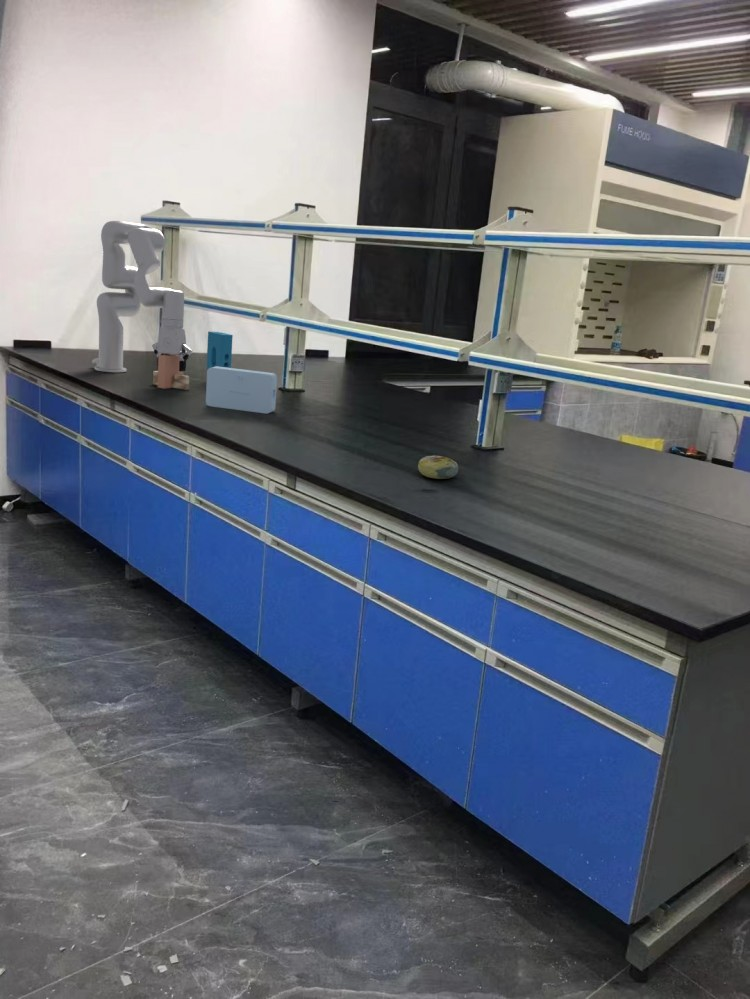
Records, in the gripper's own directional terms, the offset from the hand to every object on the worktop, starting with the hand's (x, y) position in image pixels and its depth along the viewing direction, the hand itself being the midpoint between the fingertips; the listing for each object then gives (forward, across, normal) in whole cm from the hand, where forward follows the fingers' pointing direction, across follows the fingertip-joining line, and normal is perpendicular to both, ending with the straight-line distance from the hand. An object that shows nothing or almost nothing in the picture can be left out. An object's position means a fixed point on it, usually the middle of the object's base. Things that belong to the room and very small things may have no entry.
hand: (171, 369), depth 323 cm
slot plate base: (+7, 0, 0) cm, 7 cm away
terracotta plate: (+7, 0, 0) cm, 7 cm away
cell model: (+7, +128, -65) cm, 144 cm away
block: (+7, +4, +26) cm, 27 cm away
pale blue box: (+7, +42, -20) cm, 47 cm away
